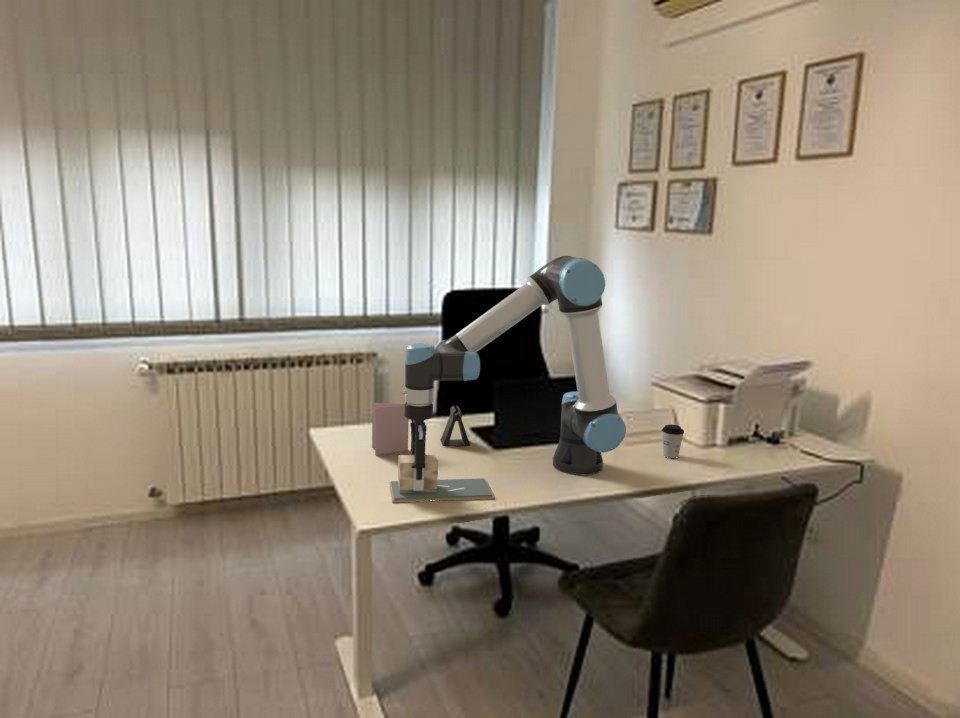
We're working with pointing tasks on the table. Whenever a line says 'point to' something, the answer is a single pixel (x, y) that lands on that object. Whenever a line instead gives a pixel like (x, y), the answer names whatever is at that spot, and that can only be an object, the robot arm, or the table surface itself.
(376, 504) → the table surface
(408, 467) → the eraser block
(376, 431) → the greeting card
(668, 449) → the coffee cup
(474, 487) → the chalkboard
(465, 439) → the phone stand
